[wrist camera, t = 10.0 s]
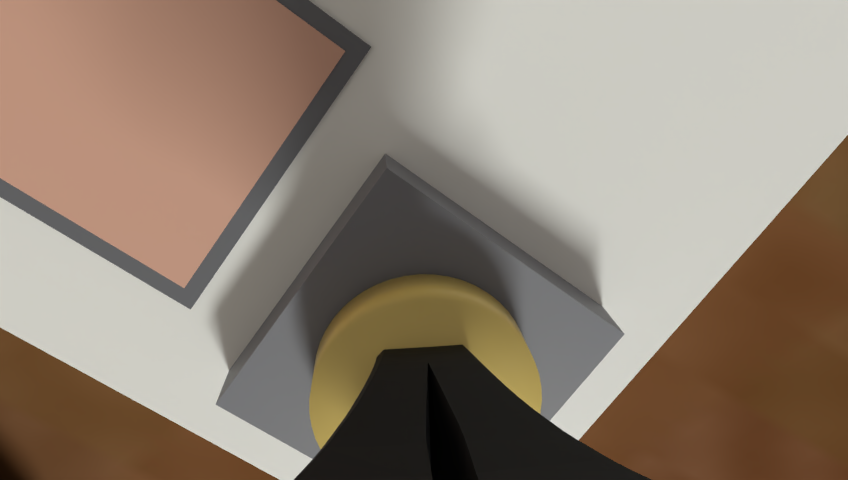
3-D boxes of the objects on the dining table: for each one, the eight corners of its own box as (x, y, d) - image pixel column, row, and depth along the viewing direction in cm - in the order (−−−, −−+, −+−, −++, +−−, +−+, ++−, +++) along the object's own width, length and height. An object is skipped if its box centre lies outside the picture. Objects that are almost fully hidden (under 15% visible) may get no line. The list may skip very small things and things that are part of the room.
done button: (555, 324, 13) (588, 378, 11) (438, 465, 14) (449, 539, 12) (395, 214, 12) (400, 252, 10) (279, 371, 13) (263, 434, 11)
